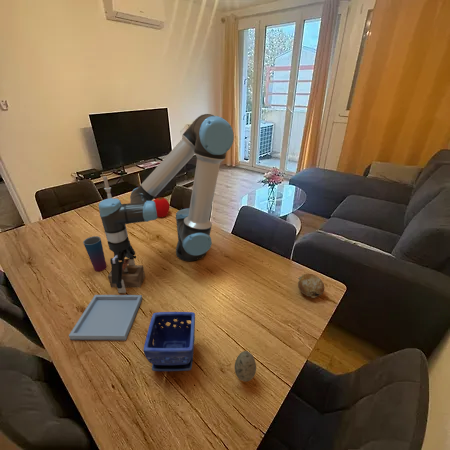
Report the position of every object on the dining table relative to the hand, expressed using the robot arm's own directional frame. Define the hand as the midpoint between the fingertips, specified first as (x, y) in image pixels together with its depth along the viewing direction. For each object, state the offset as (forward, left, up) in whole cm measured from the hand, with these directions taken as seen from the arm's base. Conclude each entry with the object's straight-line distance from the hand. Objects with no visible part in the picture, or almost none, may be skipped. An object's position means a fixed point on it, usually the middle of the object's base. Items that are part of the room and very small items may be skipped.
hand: (128, 281), depth 104 cm
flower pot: (-26, +33, 0) cm, 42 cm away
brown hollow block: (0, 0, 0) cm, 0 cm away
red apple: (0, -62, 0) cm, 62 cm away
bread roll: (-75, +3, -1) cm, 75 cm away
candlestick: (+26, -52, 0) cm, 58 cm away
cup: (+16, -9, 0) cm, 18 cm away
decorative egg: (-47, +39, 0) cm, 61 cm away
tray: (0, +19, 0) cm, 19 cm away
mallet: (0, 0, 0) cm, 0 cm away
